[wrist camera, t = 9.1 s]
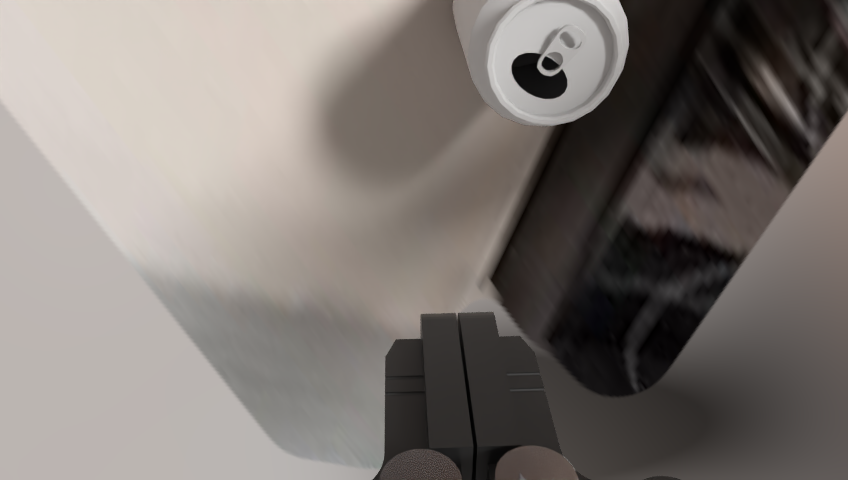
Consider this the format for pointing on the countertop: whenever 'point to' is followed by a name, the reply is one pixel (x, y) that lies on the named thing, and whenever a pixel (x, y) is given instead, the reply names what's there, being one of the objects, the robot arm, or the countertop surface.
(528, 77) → the can
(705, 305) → the countertop surface
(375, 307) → the countertop surface
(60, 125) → the countertop surface
